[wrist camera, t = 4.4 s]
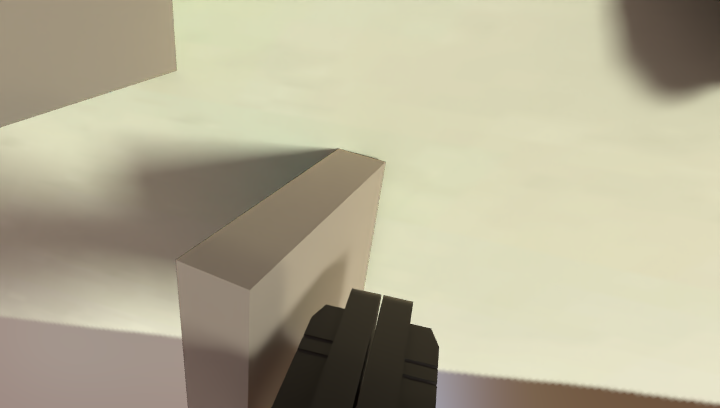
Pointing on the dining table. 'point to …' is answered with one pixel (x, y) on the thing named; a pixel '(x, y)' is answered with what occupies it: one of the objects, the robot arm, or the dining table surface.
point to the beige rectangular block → (274, 280)
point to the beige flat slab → (79, 51)
